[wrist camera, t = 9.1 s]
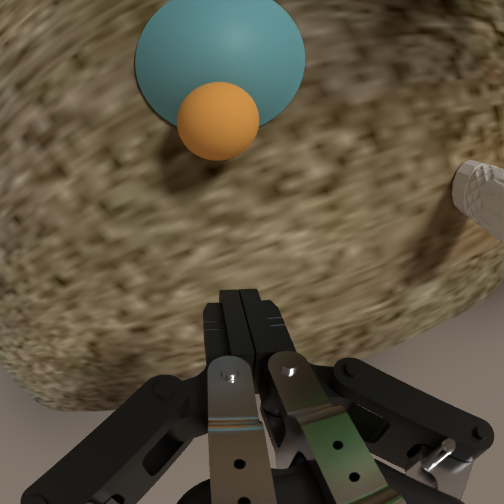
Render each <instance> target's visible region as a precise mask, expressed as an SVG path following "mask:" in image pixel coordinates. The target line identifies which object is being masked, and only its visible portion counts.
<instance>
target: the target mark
mask: <svg viewBox="0 0 504 504" xmlns="http://www.w3.org/2000/svg"><path fill="white" fill-rule="evenodd" d="M135 68H136V76H137V80H138V84H139V86H140V89H141V91H142V93H143V95H144V97H145V98H146V100H147V102H148V103H149V104H150V105H151V106H152V108H153V109H154V110H155V111H156V112H157V113H158V114H159V115H160V116H161V117H163V118H164V119H166V120H167V121H168V122H170V123H172V124H174V125H175V126H177V115H178V111H179V109H180V106H181V104H182V102H183V101H184V99H185V98H186V97H187V96H188V95H189V94H190V93H191V92H192V91H193V90H195V89H196V88H198V87H200V86H202V85H205V84H208V83H212V82H226V83H231V84H234V85H236V86H238V87H240V88H242V89H243V90H245V91H246V92H247V93H248V94H249V95H250V96H251V97H252V99H253V101H254V102H255V104H256V106H257V109H258V113H259V126H261V125H263V124H265V123H267V122H268V121H270V120H271V119H273V118H274V117H276V116H277V115H278V114H279V113H280V112H282V111H283V110H284V108H285V107H286V106H287V105H288V104H289V103H290V101H291V100H292V99H293V97H294V96H295V94H296V92H297V90H298V88H299V86H300V83H301V80H302V78H303V73H304V68H305V51H304V45H303V41H302V38H301V35H300V33H299V30H298V28H297V27H296V25H295V23H294V21H293V20H292V19H291V17H290V16H289V15H288V14H287V12H286V11H285V10H284V9H283V8H282V7H281V6H279V5H278V4H277V3H275V2H274V1H273V0H171V1H169V2H168V3H167V4H165V5H164V6H163V7H161V8H160V9H159V10H158V11H157V12H156V13H155V14H154V15H153V17H152V18H151V19H150V21H149V22H148V23H147V25H146V26H145V28H144V30H143V32H142V34H141V36H140V39H139V42H138V45H137V50H136V57H135Z"/></svg>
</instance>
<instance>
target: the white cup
mask: <svg viewBox="0 0 504 504" xmlns="http://www.w3.org/2000/svg"><path fill="white" fill-rule="evenodd" d="M452 198H453V203H454V205H455V207H456V208H457V209H458V210H459V211H460V212H462V213H463V214H465V215H466V216H468V217H469V218H470V219H472V220H473V221H474V222H475V223H477V224H478V225H480V226H481V227H482V228H483V229H485V230H486V231H487V232H489V233H490V234H491V235H493V236H494V237H496V238H497V239H498V240H500V241H501V242H502V243H504V169H502V168H500V167H496V166H493V165H490V164H484V163H480V162H477V161H474V160H471V159H470V160H468V161H466V162H464V163H462V165H461V166H460V167H459V169H458V170H457V172H456V175H455V177H454V180H453V185H452Z"/></svg>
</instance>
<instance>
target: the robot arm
mask: <svg viewBox="0 0 504 504" xmlns="http://www.w3.org/2000/svg"><path fill="white" fill-rule="evenodd" d="M203 324H204V344H205V354H206V364H207V365H206V368H205V369H204V370H203V371H202V372H201V373H200V374H199V375H197V376H195V377H193V378H190V379H187V380H184V381H182V380H180V379H179V378H177V377H175V376H172V375H158V376H155V377H153V378H151V379H149V380H148V381H147V382H146V383H145V384H144V385H143V386H142V387H140V388H139V389H138V390H137V391H136V392H135V393H134V394H133V395H132V396H131V397H130V398H129V399H128V400H126V401H125V402H124V403H123V404H122V405H121V406H120V407H119V408H118V409H117V410H116V411H114V412H113V413H112V414H111V415H110V416H109V417H108V418H107V419H106V420H105V421H103V422H102V423H101V424H100V425H99V426H98V427H97V428H96V429H95V430H93V432H91V433H90V434H89V435H88V436H87V437H86V438H85V439H84V440H82V441H81V442H80V443H79V444H78V445H77V446H76V447H75V448H73V449H72V450H71V451H70V452H69V453H68V454H67V455H65V456H64V457H63V458H62V459H61V460H60V461H59V462H57V463H56V464H55V465H54V466H53V467H52V468H51V469H49V471H47V472H46V473H45V474H44V475H42V476H41V477H40V478H39V479H38V480H37V481H36V482H34V483H33V484H32V485H31V486H30V487H28V488H27V489H26V490H25V491H24V493H23V494H22V497H21V504H136V503H137V502H138V501H139V500H140V499H141V498H142V497H143V496H144V495H145V494H146V493H147V492H148V491H149V490H150V488H151V487H152V486H153V485H154V484H155V483H156V482H157V481H158V480H159V479H160V477H161V476H162V475H163V474H164V473H165V472H166V471H167V470H168V468H169V467H170V466H171V465H172V464H173V463H174V462H175V460H176V459H177V458H178V457H179V456H180V455H181V453H182V452H183V451H184V450H185V449H186V448H187V446H188V445H189V444H190V443H191V441H192V440H193V438H195V437H198V436H201V435H204V434H207V433H208V441H209V466H210V479H208V480H206V481H203V482H201V483H199V484H198V485H196V486H194V487H193V488H191V489H190V490H189V491H187V492H186V493H185V494H184V495H183V496H182V497H181V499H180V500H179V501H178V502H177V504H464V502H462V501H461V498H462V496H463V493H464V490H465V487H466V484H467V481H468V478H469V475H470V472H471V469H472V465H473V462H474V460H475V459H476V458H478V457H479V456H480V455H481V454H482V453H483V452H485V451H486V450H487V449H488V448H490V446H491V445H492V444H493V441H494V432H493V429H492V427H491V426H490V424H489V423H488V422H486V421H485V420H483V419H481V418H479V417H476V416H474V415H472V414H469V413H467V412H465V411H463V410H461V409H459V408H456V407H454V406H452V405H450V404H448V403H445V402H443V401H441V400H439V399H437V398H435V397H433V396H431V395H429V394H426V393H424V392H423V391H420V390H418V389H416V388H414V387H412V386H410V385H408V384H406V383H404V382H402V381H400V380H398V379H396V378H394V377H392V376H390V375H388V374H386V373H384V372H382V371H380V370H378V369H376V368H374V367H373V366H371V365H369V364H367V363H365V362H363V361H361V360H359V359H356V358H343V359H341V360H339V361H337V362H336V364H335V365H334V367H328V366H319V365H314V364H310V363H308V361H307V359H306V358H305V357H304V356H302V355H301V354H299V353H297V352H296V350H295V347H294V345H293V342H292V340H291V338H290V335H289V333H288V330H287V328H286V325H285V323H284V321H283V318H282V316H281V313H280V311H279V308H278V307H277V306H276V305H275V304H274V303H273V302H272V301H270V300H262V301H261V298H260V296H259V293H258V290H257V289H239V290H220V292H219V303H207V305H206V307H205V309H204V311H203ZM255 394H259V395H260V399H261V405H260V412H261V415H262V417H263V420H264V423H265V426H266V429H267V432H268V434H269V437H270V440H271V443H272V445H273V448H274V451H275V457H276V466H277V469H272V468H271V467H270V461H269V456H268V450H267V444H266V438H265V432H264V427H263V423H262V422H261V421H259V417H258V411H257V404H256V398H255ZM357 404H358V405H357ZM359 405H360V406H359ZM361 406H362V407H361ZM363 407H364V408H363ZM365 408H366V409H365ZM367 409H368V410H370V411H371V412H370V411H368V410H367ZM372 412H373V413H372ZM374 413H375V414H374ZM376 414H377V415H376ZM378 415H379V416H378ZM380 416H381V417H380ZM382 417H383V418H382ZM370 453H372V454H374V455H376V456H378V457H381V458H382V459H384V460H386V461H388V462H390V463H392V464H394V465H397V466H399V467H401V468H403V469H405V474H403V473H401V472H399V471H397V470H395V469H393V468H391V467H390V466H388V465H386V464H384V463H382V462H380V461H378V460H376V459H374V458H373V457H372V455H371V454H370Z"/></svg>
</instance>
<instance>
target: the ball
mask: <svg viewBox="0 0 504 504" xmlns="http://www.w3.org/2000/svg"><path fill="white" fill-rule="evenodd" d="M258 128H259V113H258V109H257V106H256V104H255V102H254V101H253V99H252V97H251V96H250V95H249V94H248V93H247V92H246V91H245V90H243V89H242V88H240V87H238V86H236V85H234V84H231V83H226V82H212V83H208V84H205V85H202V86H200V87H198V88H196V89H195V90H193V91H192V92H191V93H190V94H189V95H188V96H187V97H186V98H185V99H184V101H183V102H182V104H181V106H180V109H179V111H178V115H177V129H178V133H179V136H180V138H181V140H182V142H183V143H184V145H185V146H186V147H187V148H188V149H189V150H190V151H191V152H192V153H194V154H195V155H197V156H199V157H201V158H204V159H208V160H215V161H217V160H226V159H230V158H233V157H235V156H237V155H239V154H241V153H242V152H243V151H245V150H246V149H247V148H248V147H249V146H250V145H251V143H252V142H253V140H254V139H255V137H256V134H257V132H258Z"/></svg>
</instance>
